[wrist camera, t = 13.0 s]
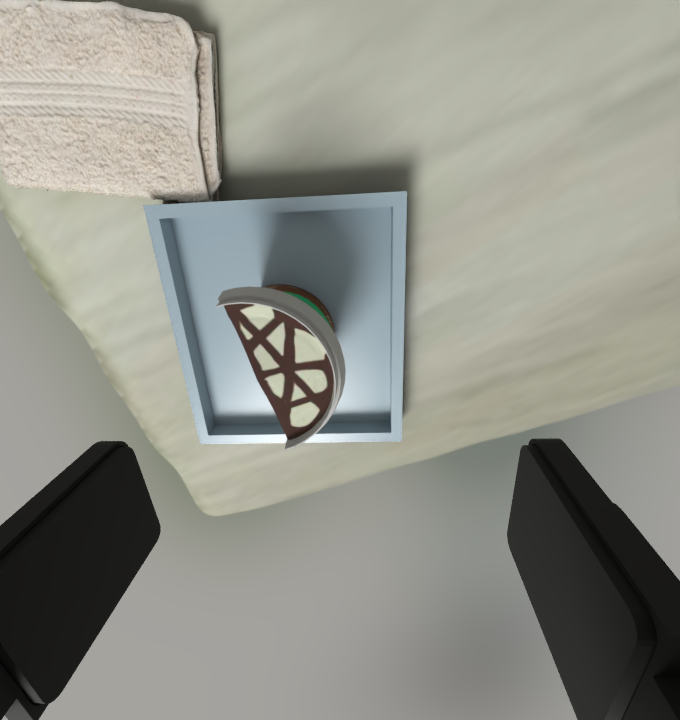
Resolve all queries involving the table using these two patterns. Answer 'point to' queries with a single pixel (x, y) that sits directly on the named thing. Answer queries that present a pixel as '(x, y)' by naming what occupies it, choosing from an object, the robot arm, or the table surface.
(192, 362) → the tray
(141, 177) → the washcloth
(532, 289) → the table surface
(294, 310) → the food container
